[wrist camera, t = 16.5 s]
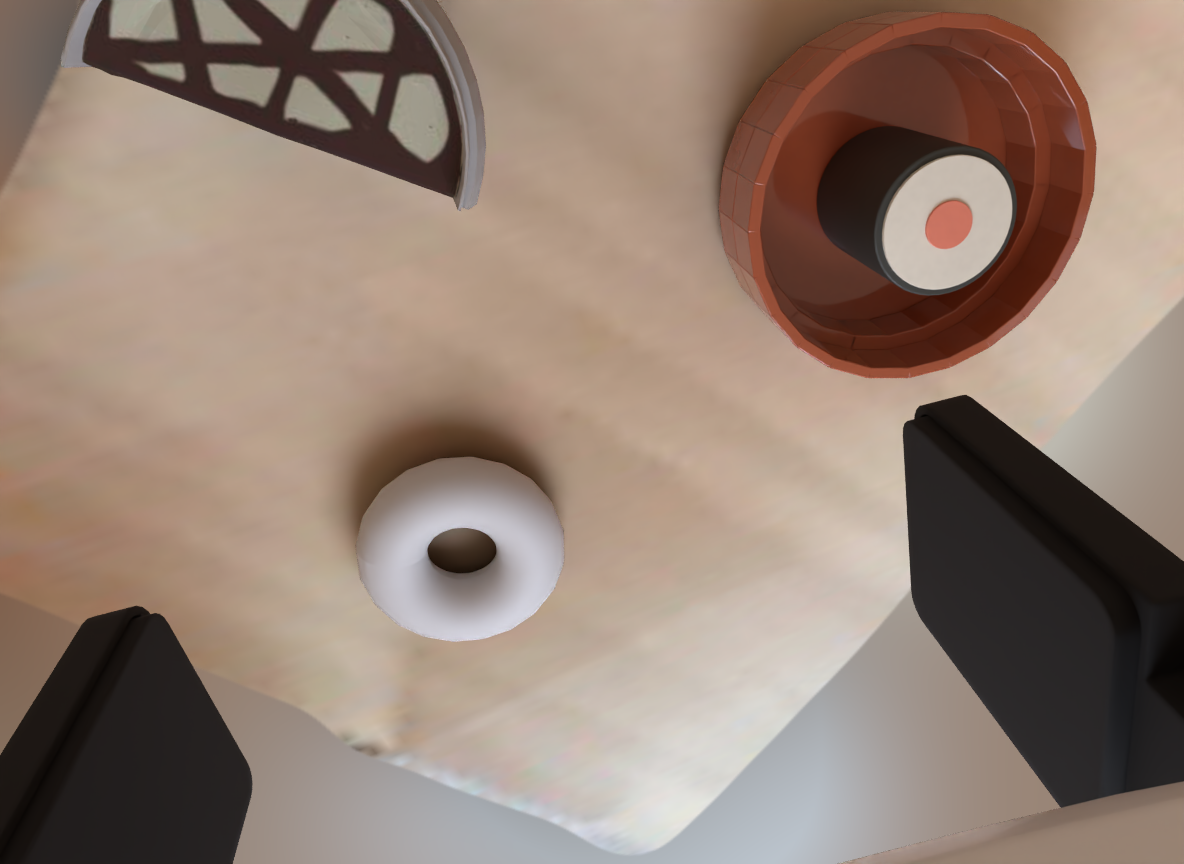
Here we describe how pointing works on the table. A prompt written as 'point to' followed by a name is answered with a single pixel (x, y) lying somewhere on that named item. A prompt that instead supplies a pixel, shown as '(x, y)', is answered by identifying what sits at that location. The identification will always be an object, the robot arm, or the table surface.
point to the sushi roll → (917, 208)
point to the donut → (460, 501)
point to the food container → (308, 75)
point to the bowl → (924, 104)
